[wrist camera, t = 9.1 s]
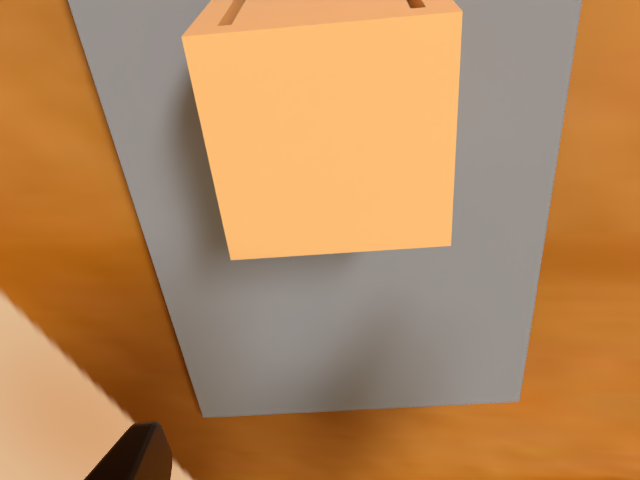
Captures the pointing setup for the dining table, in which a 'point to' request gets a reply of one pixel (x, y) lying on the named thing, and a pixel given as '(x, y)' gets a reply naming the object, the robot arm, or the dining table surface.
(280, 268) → the grey base plate
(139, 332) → the dining table surface
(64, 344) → the dining table surface
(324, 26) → the orange grooved cube
